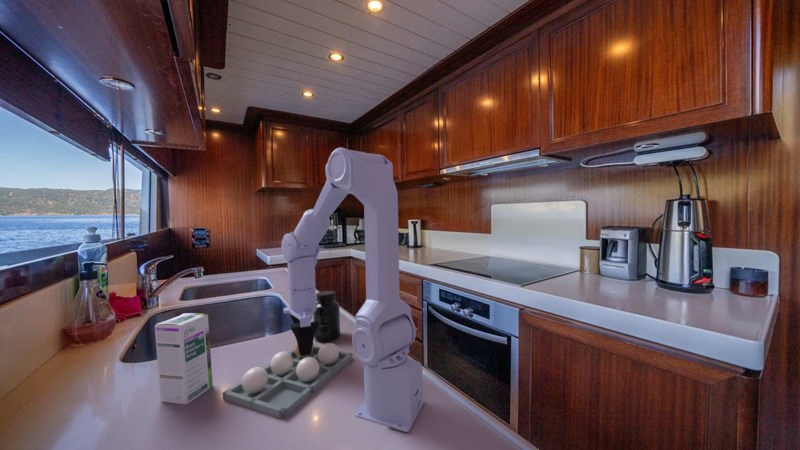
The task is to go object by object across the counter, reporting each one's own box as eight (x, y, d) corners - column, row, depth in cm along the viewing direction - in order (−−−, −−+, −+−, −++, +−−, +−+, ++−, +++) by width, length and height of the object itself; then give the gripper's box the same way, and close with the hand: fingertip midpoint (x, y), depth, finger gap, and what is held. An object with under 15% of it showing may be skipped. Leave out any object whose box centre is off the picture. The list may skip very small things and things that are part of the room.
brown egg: (318, 355, 68) (317, 335, 69) (305, 359, 64) (303, 338, 65) (303, 356, 69) (302, 336, 71) (289, 360, 66) (288, 340, 67)
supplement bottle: (345, 335, 80) (344, 291, 79) (327, 345, 74) (325, 298, 74) (327, 330, 84) (326, 288, 83) (308, 339, 78) (306, 294, 77)
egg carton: (352, 360, 66) (352, 339, 66) (283, 421, 47) (282, 392, 47) (303, 350, 72) (302, 330, 71) (223, 401, 53) (221, 375, 52)
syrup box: (186, 407, 51) (181, 324, 51) (158, 403, 53) (153, 322, 52) (213, 387, 57) (209, 313, 56) (187, 384, 58) (183, 311, 57)
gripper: (282, 282, 71) (284, 337, 72) (283, 298, 58) (285, 366, 58) (312, 279, 74) (314, 332, 74) (320, 293, 60) (322, 358, 61)
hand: (304, 347), depth 67 cm, fingers open, 7 cm apart
